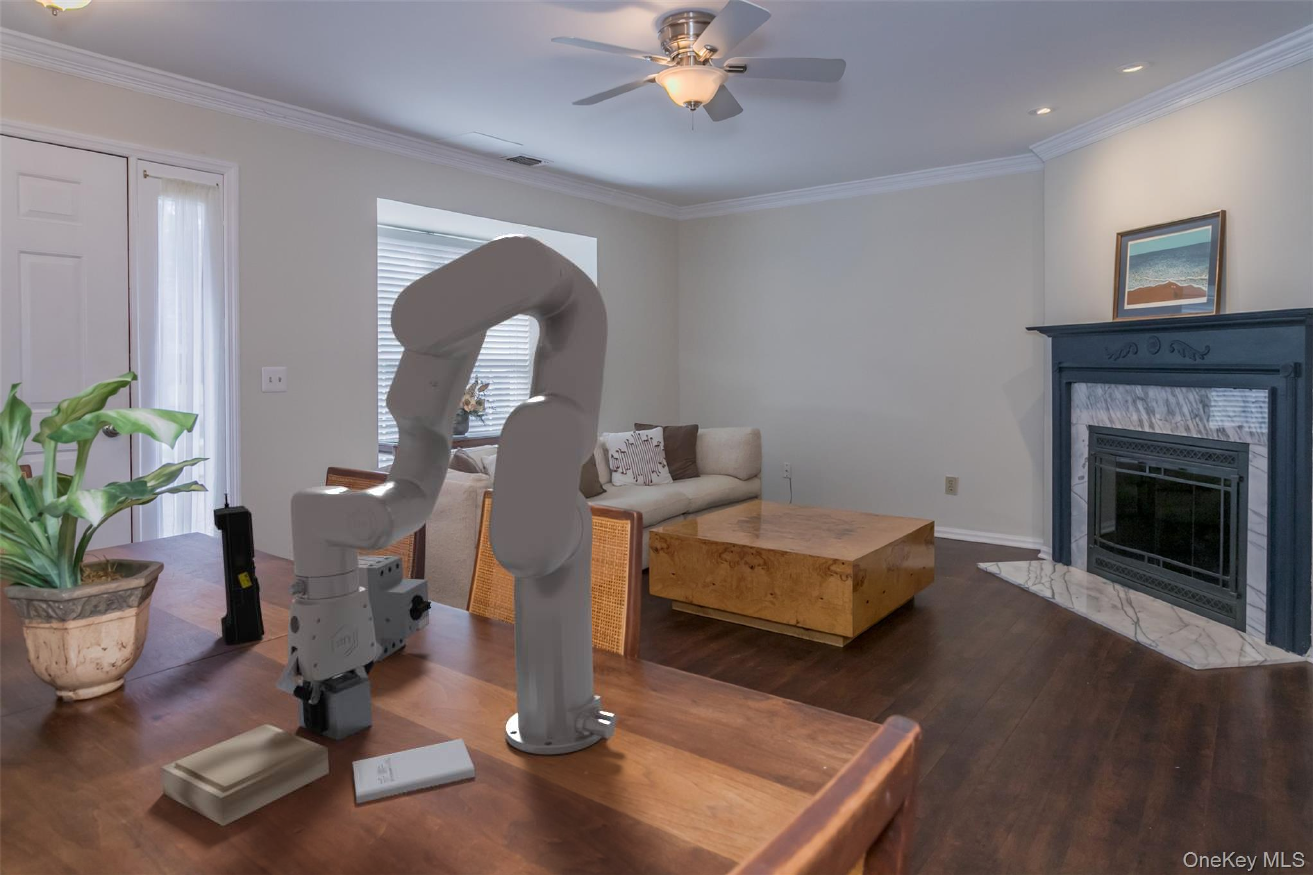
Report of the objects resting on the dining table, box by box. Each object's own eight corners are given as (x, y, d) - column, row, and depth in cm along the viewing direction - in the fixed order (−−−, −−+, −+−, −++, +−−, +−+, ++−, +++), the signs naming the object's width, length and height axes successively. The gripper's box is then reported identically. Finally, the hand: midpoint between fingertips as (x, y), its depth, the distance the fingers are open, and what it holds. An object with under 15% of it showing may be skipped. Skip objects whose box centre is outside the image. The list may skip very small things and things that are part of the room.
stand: (328, 772, 88) (327, 744, 88) (223, 826, 78) (220, 793, 78) (268, 747, 95) (266, 720, 94) (163, 793, 85) (160, 763, 84)
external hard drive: (475, 782, 87) (356, 808, 82) (462, 749, 95) (353, 772, 90) (474, 768, 87) (356, 793, 82) (461, 736, 94) (352, 758, 89)
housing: (372, 724, 100) (369, 673, 100) (338, 740, 96) (335, 687, 96) (333, 711, 105) (330, 662, 104) (299, 725, 100) (296, 675, 100)
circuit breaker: (416, 663, 122) (412, 569, 120) (335, 658, 124) (330, 566, 123) (439, 646, 129) (435, 557, 128) (361, 641, 132) (357, 555, 130)
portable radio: (266, 640, 133) (257, 496, 131) (226, 648, 130) (216, 500, 128) (260, 628, 140) (251, 490, 138) (221, 635, 136) (212, 494, 134)
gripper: (282, 606, 90) (291, 757, 91) (401, 572, 104) (407, 703, 106) (245, 596, 94) (255, 741, 95) (365, 565, 108) (372, 692, 110)
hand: (335, 720), depth 100 cm, fingers closed on housing, 5 cm apart
